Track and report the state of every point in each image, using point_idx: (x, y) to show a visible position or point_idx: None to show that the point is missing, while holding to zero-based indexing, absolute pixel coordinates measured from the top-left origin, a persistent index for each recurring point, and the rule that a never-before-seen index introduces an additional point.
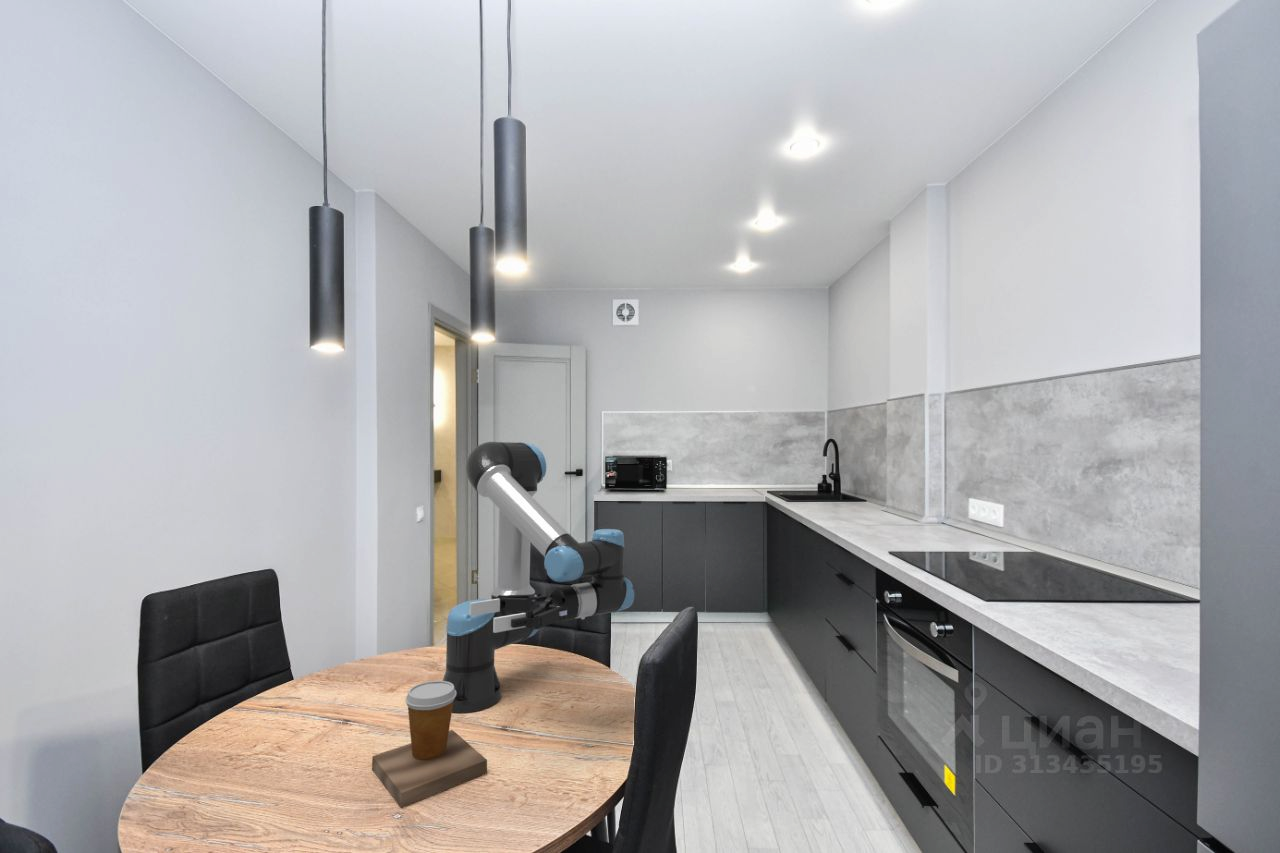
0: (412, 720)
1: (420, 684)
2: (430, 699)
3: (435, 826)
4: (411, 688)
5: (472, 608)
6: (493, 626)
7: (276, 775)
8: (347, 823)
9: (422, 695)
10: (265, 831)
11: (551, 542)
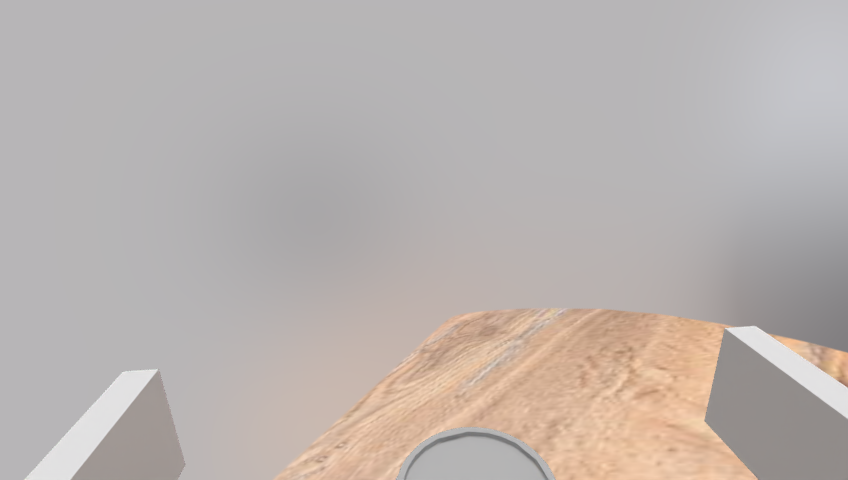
0: None
1: (539, 464)
2: (398, 475)
3: None
4: (510, 437)
5: (727, 377)
6: (171, 429)
7: (548, 392)
8: (339, 469)
9: (450, 462)
10: (395, 390)
11: None
